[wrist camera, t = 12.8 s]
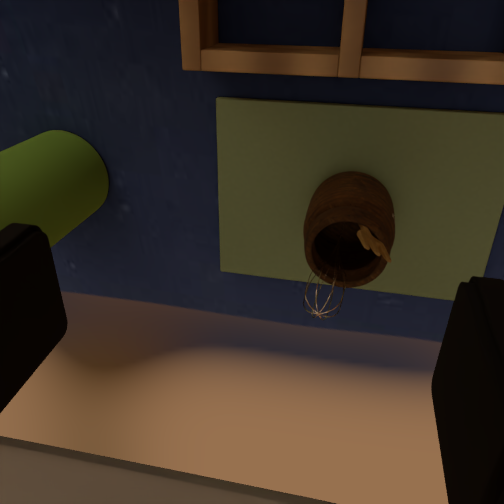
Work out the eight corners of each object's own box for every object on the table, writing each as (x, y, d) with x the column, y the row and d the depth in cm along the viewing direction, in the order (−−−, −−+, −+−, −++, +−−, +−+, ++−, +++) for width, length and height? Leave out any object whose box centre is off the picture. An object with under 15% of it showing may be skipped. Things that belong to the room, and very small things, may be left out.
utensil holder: (295, 218, 36) (263, 310, 26) (341, 148, 33) (325, 222, 23) (361, 257, 37) (356, 363, 26) (414, 192, 33) (431, 284, 23)
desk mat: (222, 267, 41) (220, 271, 40) (218, 96, 34) (215, 98, 33) (474, 299, 37) (475, 303, 36) (526, 113, 30) (529, 116, 30)
